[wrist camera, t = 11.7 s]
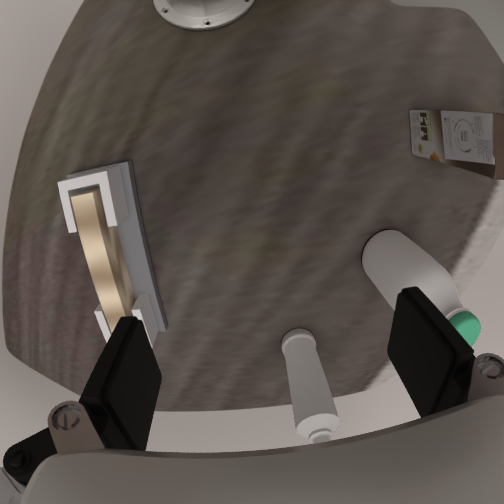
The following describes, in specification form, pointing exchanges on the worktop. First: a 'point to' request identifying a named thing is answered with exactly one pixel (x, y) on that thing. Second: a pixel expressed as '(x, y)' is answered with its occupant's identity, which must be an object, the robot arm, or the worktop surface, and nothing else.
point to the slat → (104, 256)
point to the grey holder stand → (121, 238)
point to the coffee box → (460, 139)
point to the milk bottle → (415, 278)
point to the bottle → (309, 388)
